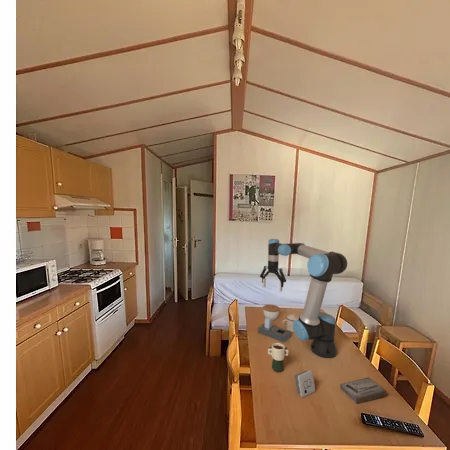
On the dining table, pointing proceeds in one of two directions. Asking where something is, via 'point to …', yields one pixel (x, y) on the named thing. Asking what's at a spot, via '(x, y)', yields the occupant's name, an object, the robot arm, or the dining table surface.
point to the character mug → (278, 356)
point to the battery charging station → (275, 332)
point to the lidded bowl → (271, 311)
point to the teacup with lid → (290, 322)
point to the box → (363, 390)
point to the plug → (268, 323)
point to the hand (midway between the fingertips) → (272, 289)
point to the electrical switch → (305, 383)
